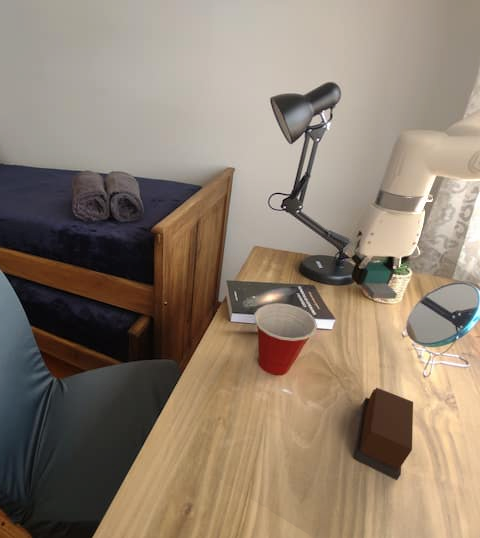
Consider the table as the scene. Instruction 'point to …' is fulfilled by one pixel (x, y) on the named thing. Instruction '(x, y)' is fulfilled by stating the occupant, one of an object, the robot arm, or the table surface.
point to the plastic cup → (281, 335)
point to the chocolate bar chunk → (385, 432)
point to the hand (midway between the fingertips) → (369, 281)
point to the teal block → (378, 281)
